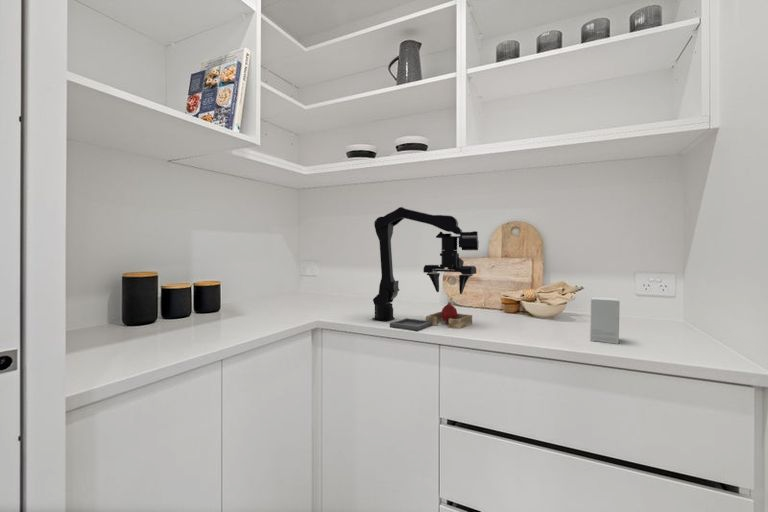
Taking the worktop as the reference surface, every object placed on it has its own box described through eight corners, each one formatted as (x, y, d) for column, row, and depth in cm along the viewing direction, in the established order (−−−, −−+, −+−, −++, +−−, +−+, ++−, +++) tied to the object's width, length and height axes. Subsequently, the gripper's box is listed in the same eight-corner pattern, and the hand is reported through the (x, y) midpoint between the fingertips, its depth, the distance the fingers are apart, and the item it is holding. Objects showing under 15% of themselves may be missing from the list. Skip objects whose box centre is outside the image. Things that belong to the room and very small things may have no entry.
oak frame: (425, 324, 132) (425, 316, 132) (440, 319, 142) (440, 311, 142) (459, 328, 125) (459, 320, 125) (472, 323, 135) (472, 315, 135)
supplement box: (619, 344, 105) (619, 300, 105) (589, 340, 109) (590, 298, 109) (618, 339, 111) (619, 297, 111) (590, 336, 115) (591, 296, 115)
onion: (457, 325, 130) (457, 303, 130) (440, 325, 131) (441, 303, 131) (457, 322, 136) (457, 301, 136) (441, 322, 137) (441, 300, 137)
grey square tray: (389, 327, 127) (389, 322, 127) (406, 322, 136) (406, 318, 136) (417, 331, 121) (417, 326, 121) (432, 325, 130) (432, 321, 130)
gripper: (481, 250, 135) (481, 292, 135) (436, 250, 145) (436, 289, 145) (470, 250, 125) (470, 295, 126) (422, 250, 136) (422, 292, 136)
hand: (449, 293), depth 133 cm, fingers open, 9 cm apart
